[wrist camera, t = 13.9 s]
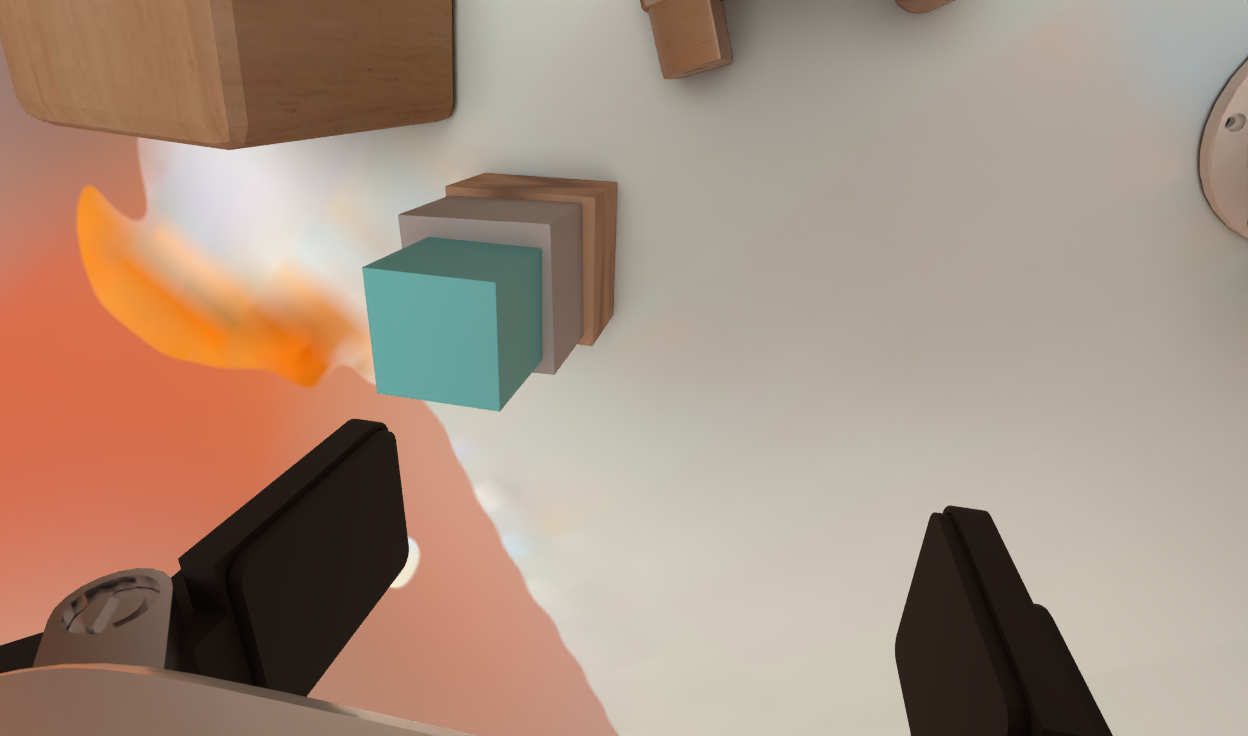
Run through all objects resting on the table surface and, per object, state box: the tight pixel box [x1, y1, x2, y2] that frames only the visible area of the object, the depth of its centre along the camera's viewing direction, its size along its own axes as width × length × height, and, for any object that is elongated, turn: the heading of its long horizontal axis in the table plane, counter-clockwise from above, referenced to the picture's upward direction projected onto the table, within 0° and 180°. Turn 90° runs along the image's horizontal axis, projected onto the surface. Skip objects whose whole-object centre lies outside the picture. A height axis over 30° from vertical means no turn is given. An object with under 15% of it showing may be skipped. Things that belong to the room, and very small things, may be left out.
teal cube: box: [362, 237, 542, 411], centre depth 32 cm, size 6×6×6 cm
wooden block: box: [0, 0, 453, 150], centre depth 32 cm, size 10×10×20 cm
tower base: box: [445, 173, 617, 346], centre depth 42 cm, size 9×9×6 cm
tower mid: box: [398, 195, 583, 375], centre depth 37 cm, size 8×8×6 cm
